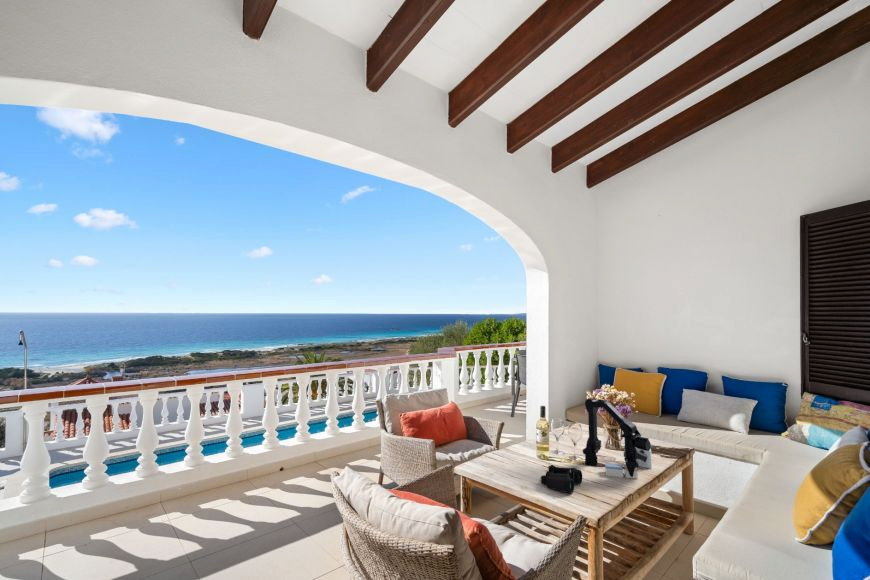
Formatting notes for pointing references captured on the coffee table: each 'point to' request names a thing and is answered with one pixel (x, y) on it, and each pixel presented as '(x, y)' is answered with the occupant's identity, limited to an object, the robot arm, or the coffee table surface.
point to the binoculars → (562, 478)
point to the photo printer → (648, 462)
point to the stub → (629, 474)
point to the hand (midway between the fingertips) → (631, 474)
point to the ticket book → (614, 470)
